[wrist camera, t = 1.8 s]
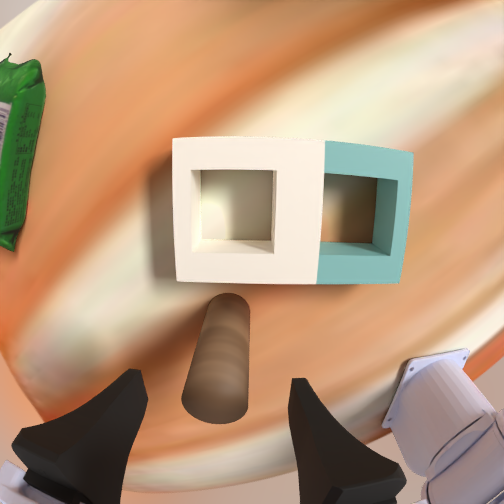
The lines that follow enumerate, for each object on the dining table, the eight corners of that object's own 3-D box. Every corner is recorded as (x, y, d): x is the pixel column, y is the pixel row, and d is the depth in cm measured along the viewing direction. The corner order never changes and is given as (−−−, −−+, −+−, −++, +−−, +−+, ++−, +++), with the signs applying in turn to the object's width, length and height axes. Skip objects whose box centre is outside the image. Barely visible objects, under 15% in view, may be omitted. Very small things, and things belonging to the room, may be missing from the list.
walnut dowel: (249, 330, 21) (247, 425, 12) (208, 329, 21) (185, 421, 12) (250, 293, 20) (248, 382, 11) (206, 292, 20) (177, 378, 11)
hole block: (380, 267, 19) (399, 283, 16) (187, 264, 19) (176, 281, 16) (391, 153, 17) (413, 152, 14) (185, 142, 17) (172, 138, 14)
